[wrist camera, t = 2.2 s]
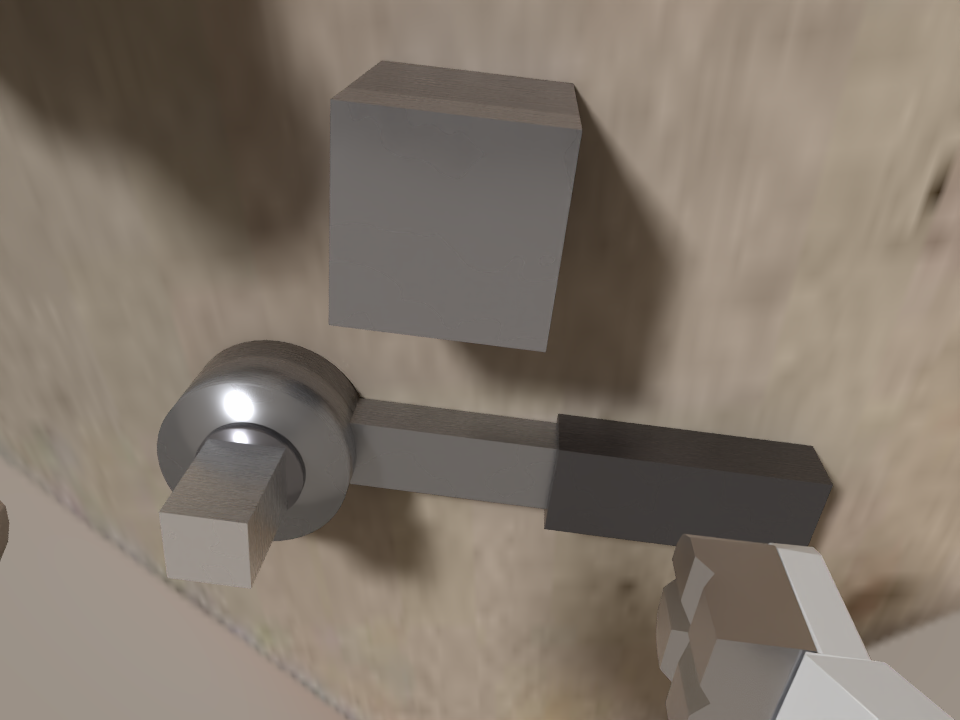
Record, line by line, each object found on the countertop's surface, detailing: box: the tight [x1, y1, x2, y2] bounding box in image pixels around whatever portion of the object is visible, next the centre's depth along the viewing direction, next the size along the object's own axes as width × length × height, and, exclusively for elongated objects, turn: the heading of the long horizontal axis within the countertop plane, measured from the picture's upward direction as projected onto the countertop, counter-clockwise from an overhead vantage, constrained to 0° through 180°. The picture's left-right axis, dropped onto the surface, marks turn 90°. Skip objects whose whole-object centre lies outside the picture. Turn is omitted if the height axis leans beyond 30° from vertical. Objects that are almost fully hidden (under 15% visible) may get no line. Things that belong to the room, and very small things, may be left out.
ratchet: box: [157, 340, 833, 589], centre depth 25 cm, size 22×6×7 cm, turn 84°
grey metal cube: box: [329, 61, 582, 352], centre depth 21 cm, size 6×6×6 cm
